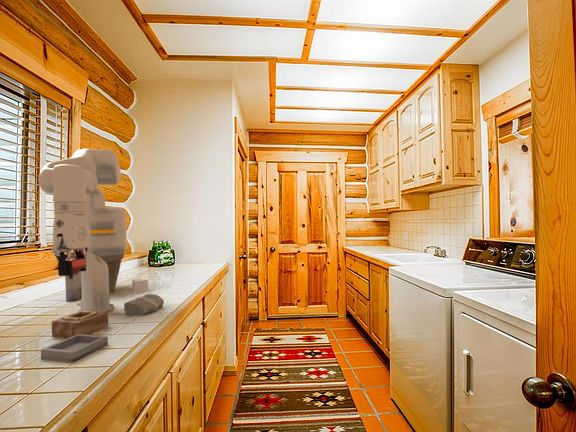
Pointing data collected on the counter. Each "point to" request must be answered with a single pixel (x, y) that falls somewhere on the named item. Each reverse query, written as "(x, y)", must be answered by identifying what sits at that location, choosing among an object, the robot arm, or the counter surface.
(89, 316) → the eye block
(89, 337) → the tray
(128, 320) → the counter surface
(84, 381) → the counter surface
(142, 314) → the decorative stone
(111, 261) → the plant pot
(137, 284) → the pale pink cube
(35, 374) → the counter surface
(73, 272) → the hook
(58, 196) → the robot arm
